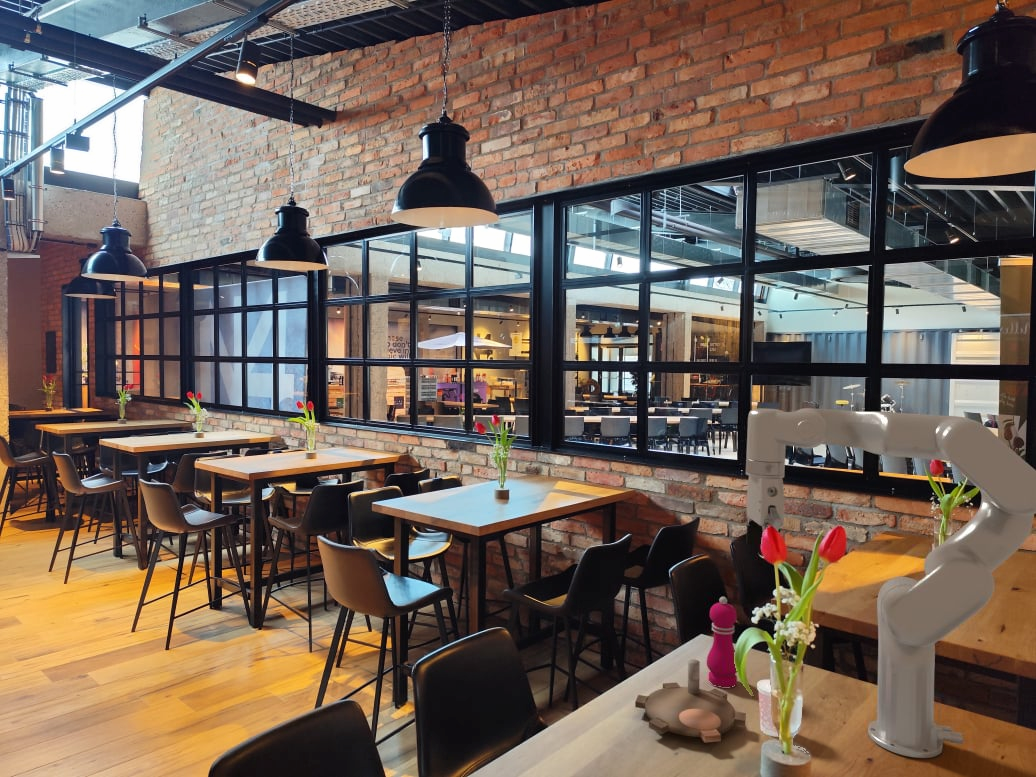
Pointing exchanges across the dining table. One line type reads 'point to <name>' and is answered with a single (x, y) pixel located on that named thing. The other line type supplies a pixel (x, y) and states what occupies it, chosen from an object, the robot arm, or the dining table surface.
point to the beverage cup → (765, 707)
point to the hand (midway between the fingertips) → (761, 550)
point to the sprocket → (690, 709)
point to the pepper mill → (722, 645)
